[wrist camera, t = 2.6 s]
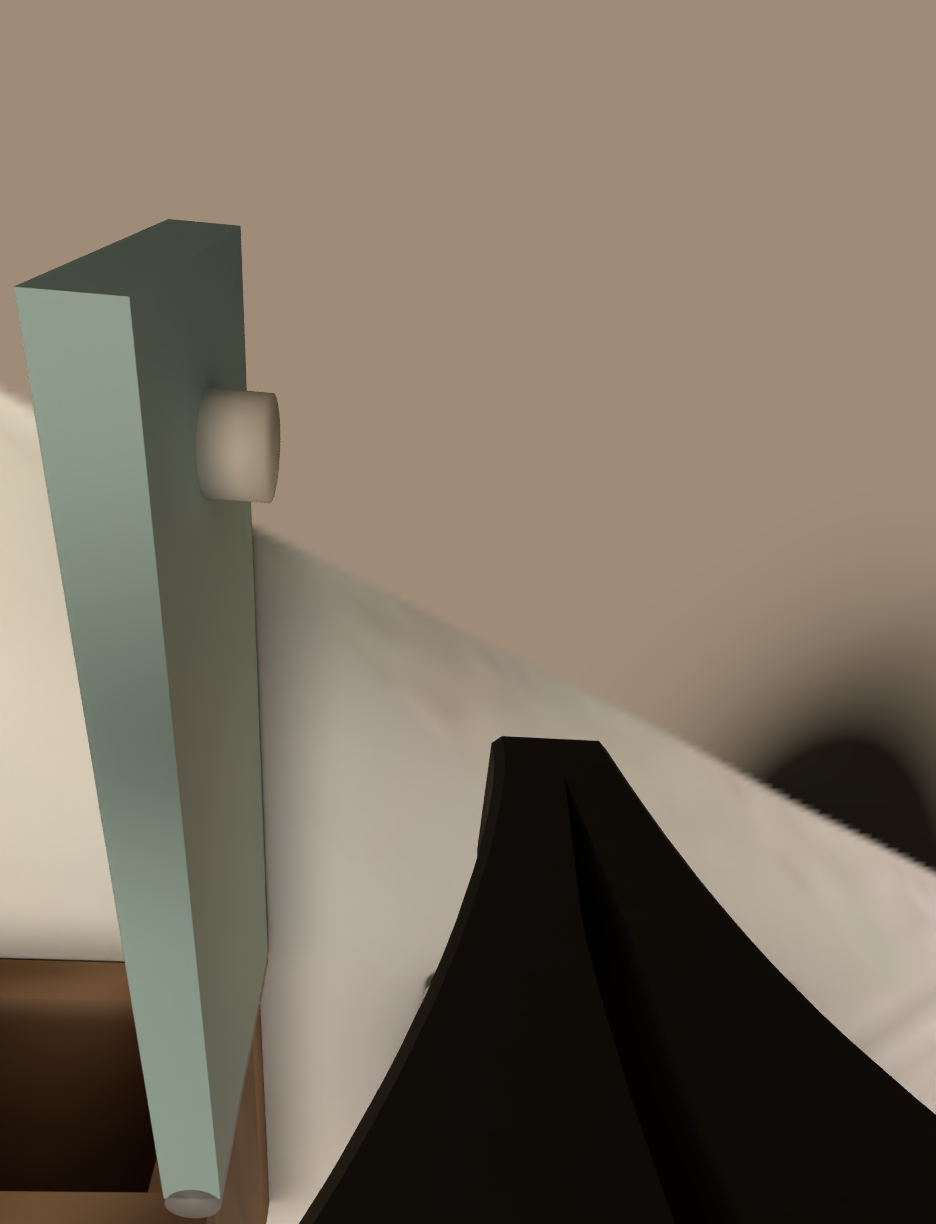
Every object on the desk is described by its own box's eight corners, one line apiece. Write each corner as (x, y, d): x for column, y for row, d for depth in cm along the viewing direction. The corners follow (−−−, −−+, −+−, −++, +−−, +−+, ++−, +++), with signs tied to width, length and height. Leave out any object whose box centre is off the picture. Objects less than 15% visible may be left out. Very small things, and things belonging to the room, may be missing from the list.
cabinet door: (302, 974, 20) (266, 1219, 16) (225, 972, 20) (166, 1218, 16) (297, 231, 12) (220, 304, 8) (168, 219, 12) (14, 286, 8)
